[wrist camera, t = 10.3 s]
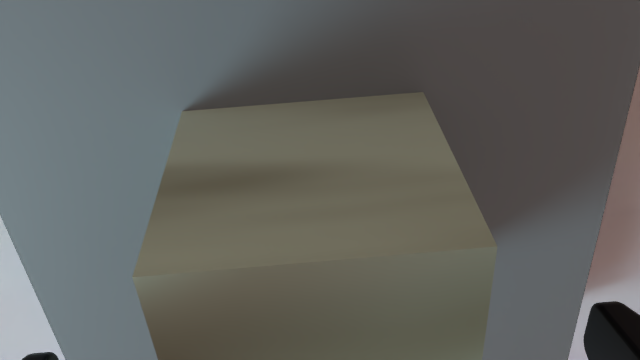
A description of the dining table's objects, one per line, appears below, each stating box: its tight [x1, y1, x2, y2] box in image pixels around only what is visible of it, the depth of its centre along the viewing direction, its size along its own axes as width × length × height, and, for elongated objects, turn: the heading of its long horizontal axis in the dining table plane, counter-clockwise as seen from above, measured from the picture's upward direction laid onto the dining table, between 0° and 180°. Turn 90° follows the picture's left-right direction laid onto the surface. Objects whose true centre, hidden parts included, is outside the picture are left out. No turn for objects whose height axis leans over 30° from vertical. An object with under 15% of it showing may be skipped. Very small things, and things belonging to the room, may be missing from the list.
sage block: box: [132, 92, 497, 360], centre depth 12 cm, size 5×5×5 cm
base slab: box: [0, 0, 640, 360], centre depth 15 cm, size 14×14×2 cm
